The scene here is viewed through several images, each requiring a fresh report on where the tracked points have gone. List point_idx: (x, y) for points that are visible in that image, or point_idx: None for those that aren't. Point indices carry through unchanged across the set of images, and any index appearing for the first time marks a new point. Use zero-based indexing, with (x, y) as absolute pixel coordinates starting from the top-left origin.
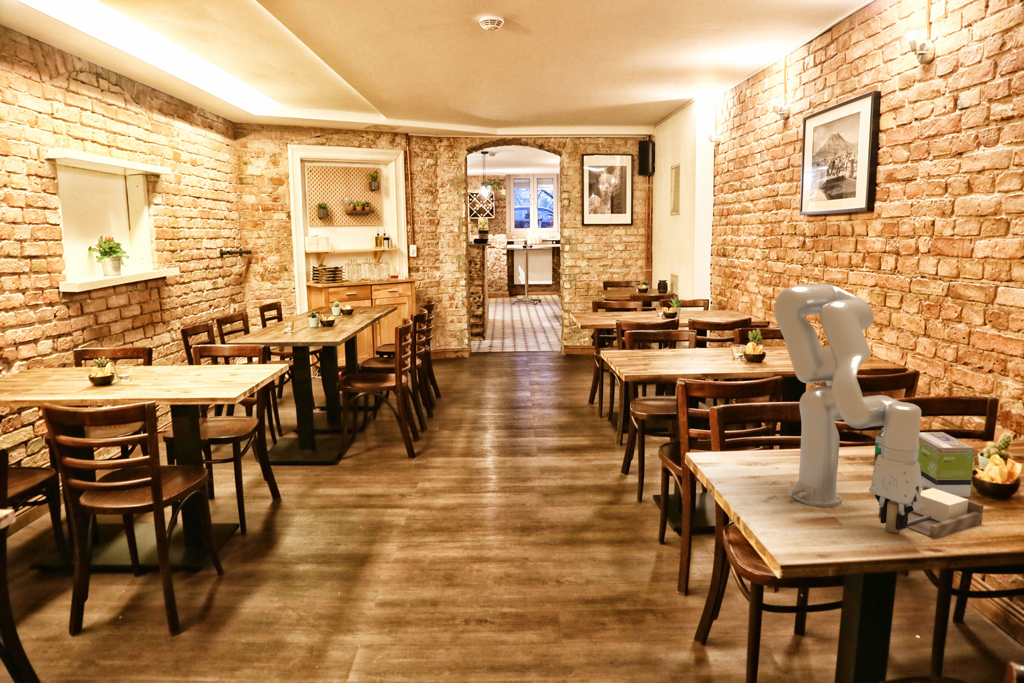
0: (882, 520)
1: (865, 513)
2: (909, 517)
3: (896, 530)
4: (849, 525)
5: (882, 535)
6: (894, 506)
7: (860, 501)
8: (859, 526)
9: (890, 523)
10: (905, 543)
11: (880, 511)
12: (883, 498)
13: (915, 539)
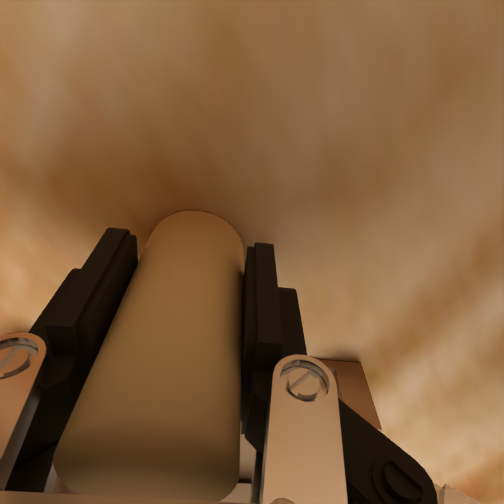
0: (255, 254)
1: (436, 351)
2: (243, 439)
3: (148, 240)
4: (479, 74)
5: (192, 118)
6: (96, 407)
7: (498, 440)
8: (401, 132)
9: (177, 248)
10: (4, 125)
11: (361, 394)
12: (284, 484)
13: (42, 250)
